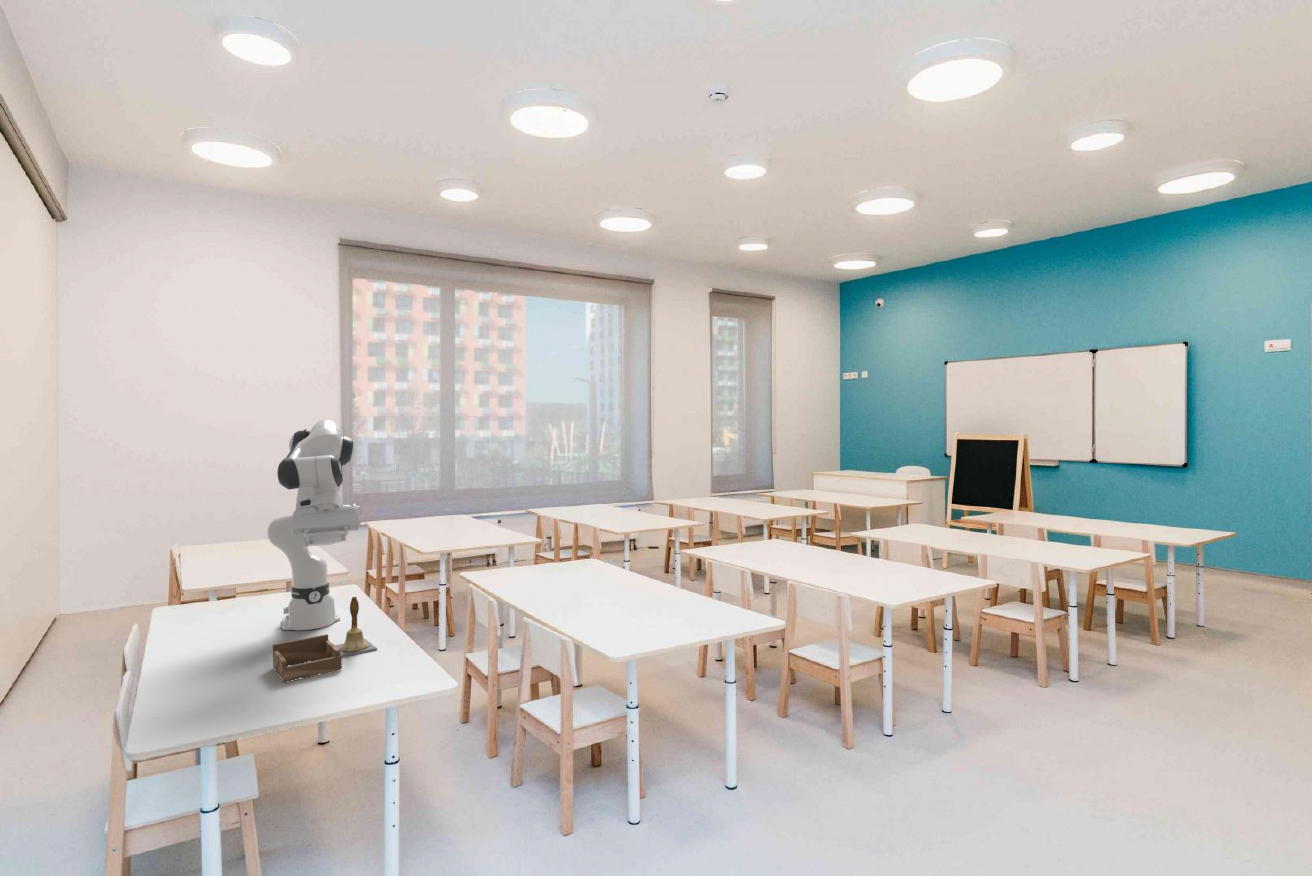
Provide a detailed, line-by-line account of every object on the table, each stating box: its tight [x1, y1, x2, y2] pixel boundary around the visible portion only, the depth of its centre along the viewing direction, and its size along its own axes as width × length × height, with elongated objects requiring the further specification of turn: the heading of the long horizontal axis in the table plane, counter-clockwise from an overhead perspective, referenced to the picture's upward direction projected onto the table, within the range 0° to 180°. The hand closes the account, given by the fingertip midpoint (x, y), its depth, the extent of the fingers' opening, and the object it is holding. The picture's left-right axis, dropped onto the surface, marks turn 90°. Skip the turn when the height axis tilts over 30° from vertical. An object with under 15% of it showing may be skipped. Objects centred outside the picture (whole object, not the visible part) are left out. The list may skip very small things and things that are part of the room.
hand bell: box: [340, 596, 369, 652], centre depth 223 cm, size 8×8×16 cm
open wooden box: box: [272, 633, 342, 683], centre depth 207 cm, size 15×15×7 cm
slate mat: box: [334, 638, 378, 658], centre depth 224 cm, size 12×12×1 cm
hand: (326, 541), depth 223 cm, fingers open, 8 cm apart
